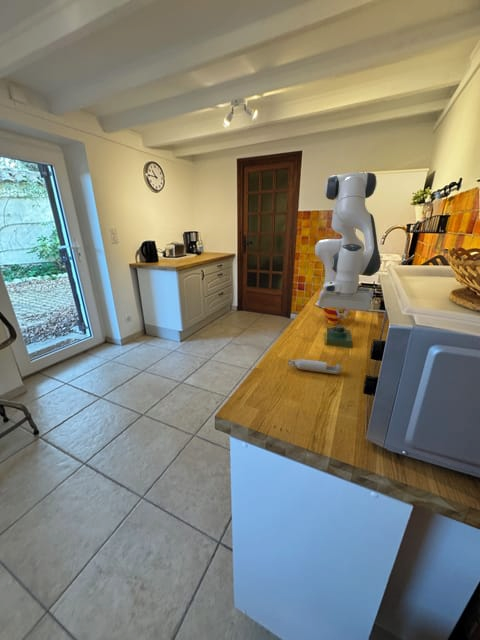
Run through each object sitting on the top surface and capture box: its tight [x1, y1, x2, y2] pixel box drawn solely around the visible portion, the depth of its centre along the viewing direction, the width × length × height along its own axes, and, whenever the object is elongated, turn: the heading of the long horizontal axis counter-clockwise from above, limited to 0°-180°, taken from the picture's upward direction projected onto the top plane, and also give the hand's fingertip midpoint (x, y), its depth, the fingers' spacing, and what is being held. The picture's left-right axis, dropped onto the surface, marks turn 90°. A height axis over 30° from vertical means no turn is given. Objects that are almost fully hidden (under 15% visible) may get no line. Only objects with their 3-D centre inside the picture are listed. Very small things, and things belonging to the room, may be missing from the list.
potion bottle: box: [322, 307, 345, 325], centre depth 127 cm, size 10×10×15 cm
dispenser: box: [325, 326, 353, 348], centre depth 110 cm, size 12×10×5 cm
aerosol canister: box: [287, 358, 342, 375], centre depth 88 cm, size 18×5×6 cm, turn 75°
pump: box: [334, 324, 345, 332], centre depth 109 cm, size 4×4×2 cm
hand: (341, 318), depth 108 cm, fingers closed
